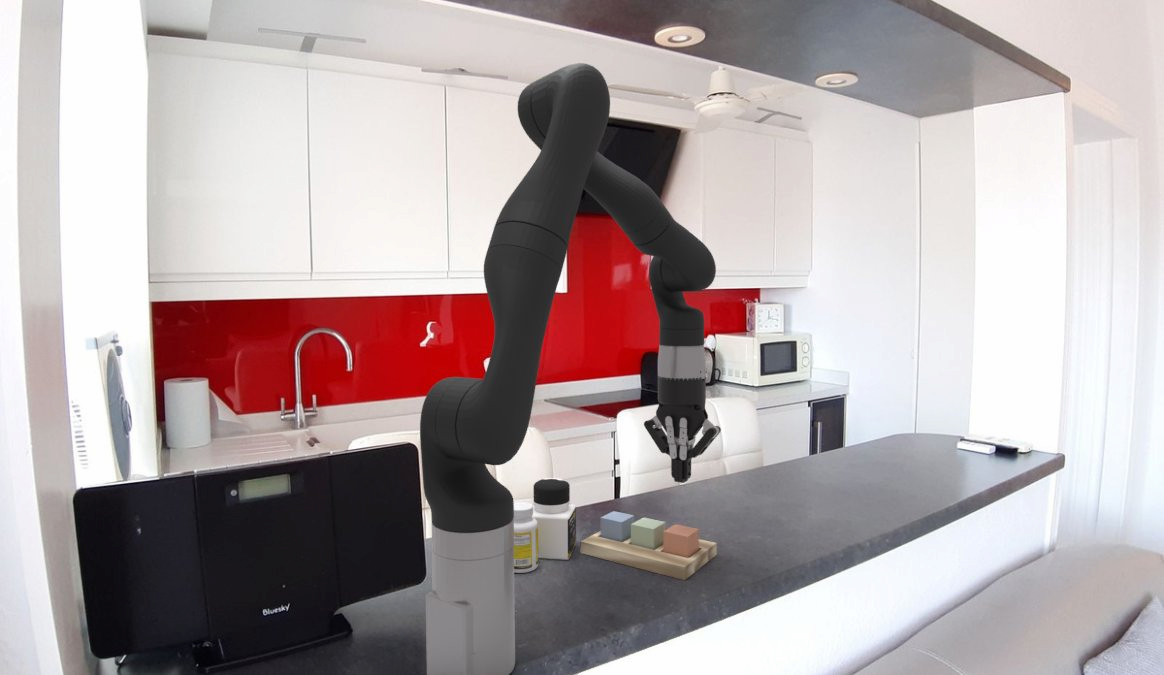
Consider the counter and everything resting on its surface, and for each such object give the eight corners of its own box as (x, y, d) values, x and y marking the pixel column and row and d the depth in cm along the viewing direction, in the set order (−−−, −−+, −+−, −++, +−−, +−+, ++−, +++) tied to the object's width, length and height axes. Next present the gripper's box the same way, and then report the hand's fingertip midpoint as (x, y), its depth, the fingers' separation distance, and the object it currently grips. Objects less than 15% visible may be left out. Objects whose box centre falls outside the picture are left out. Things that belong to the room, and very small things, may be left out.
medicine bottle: (568, 560, 107) (568, 487, 106) (526, 558, 108) (525, 485, 107) (576, 544, 114) (576, 476, 113) (536, 542, 115) (535, 474, 114)
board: (684, 580, 99) (684, 567, 99) (580, 553, 110) (580, 541, 110) (716, 554, 109) (716, 543, 109) (618, 532, 120) (618, 521, 120)
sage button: (653, 550, 106) (653, 529, 106) (630, 545, 109) (630, 524, 109) (665, 542, 110) (665, 522, 110) (643, 537, 112) (643, 517, 112)
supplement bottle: (521, 557, 108) (520, 498, 107) (545, 566, 105) (545, 505, 104) (496, 568, 104) (496, 506, 103) (521, 577, 100) (520, 513, 100)
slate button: (621, 542, 110) (621, 522, 110) (600, 537, 112) (600, 517, 112) (634, 535, 113) (634, 515, 113) (613, 530, 116) (613, 511, 115)
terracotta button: (687, 558, 103) (687, 536, 103) (663, 552, 105) (663, 531, 105) (698, 550, 106) (698, 529, 106) (675, 544, 109) (675, 524, 109)
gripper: (633, 373, 105) (633, 480, 106) (711, 378, 97) (710, 494, 99) (655, 368, 111) (655, 470, 112) (730, 373, 104) (729, 482, 105)
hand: (681, 481), depth 105 cm, fingers closed
